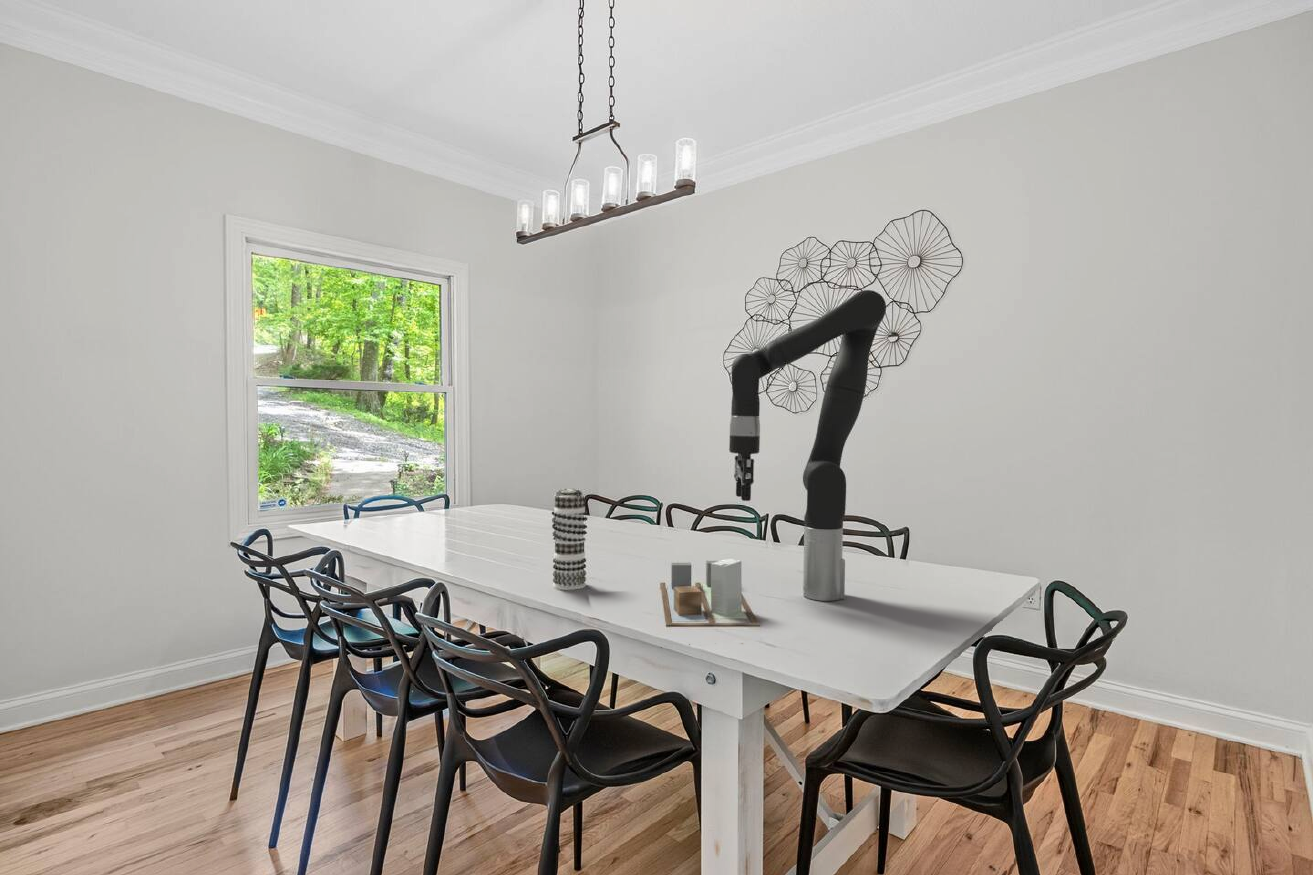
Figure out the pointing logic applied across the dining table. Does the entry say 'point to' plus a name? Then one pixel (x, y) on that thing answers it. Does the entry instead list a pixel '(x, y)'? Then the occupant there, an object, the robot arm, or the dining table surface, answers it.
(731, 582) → the skincare box
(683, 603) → the walnut cube
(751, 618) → the lane rails
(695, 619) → the strip
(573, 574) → the decorative candle
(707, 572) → the strip
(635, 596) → the dining table surface
